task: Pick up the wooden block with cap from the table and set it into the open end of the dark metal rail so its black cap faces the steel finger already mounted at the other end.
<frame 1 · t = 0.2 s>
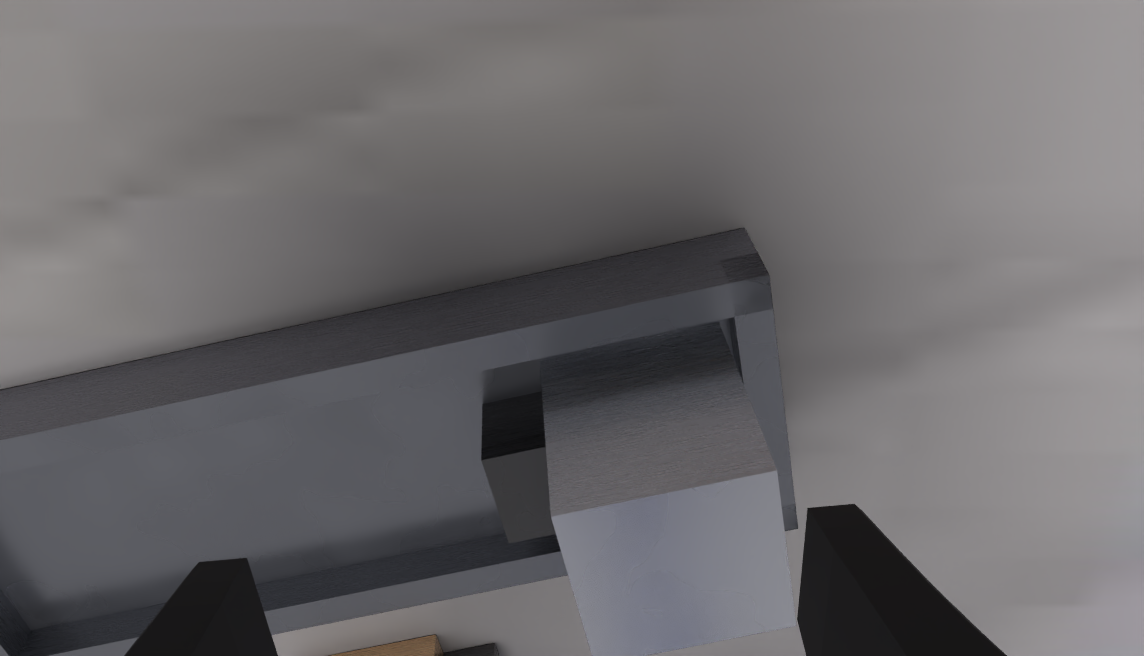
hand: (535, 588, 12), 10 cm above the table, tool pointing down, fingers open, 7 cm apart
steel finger: (644, 413, 22), resting on rail
rail: (355, 443, 23), on the table
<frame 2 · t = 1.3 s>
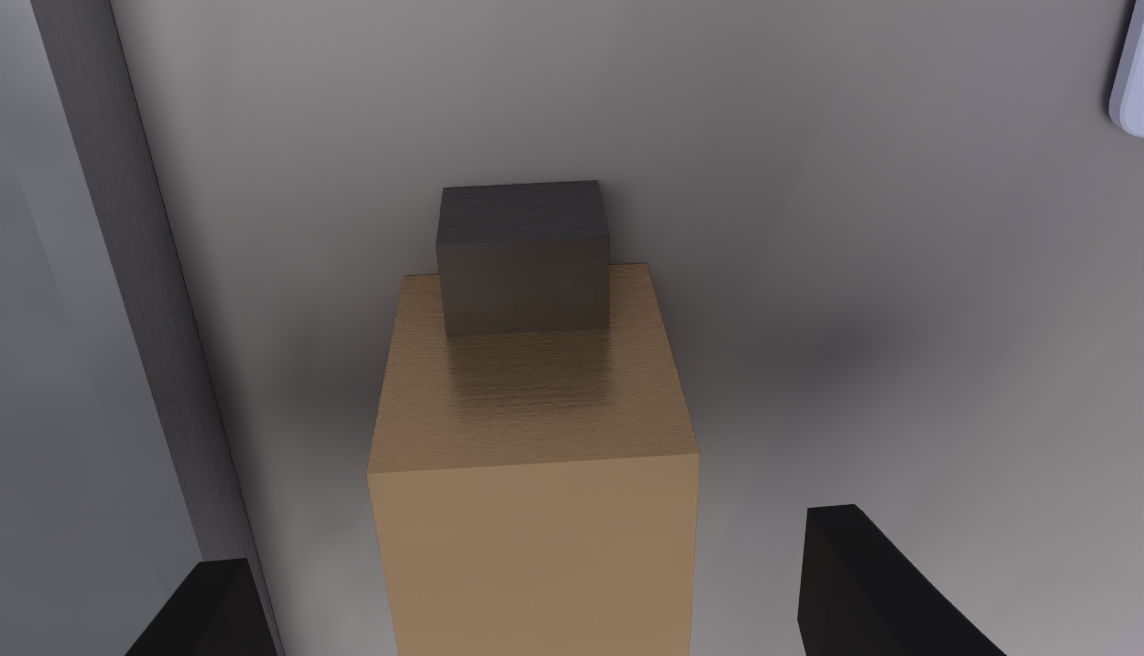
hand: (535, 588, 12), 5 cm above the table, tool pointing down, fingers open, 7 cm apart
wooden block with cap: (531, 370, 17), on the table
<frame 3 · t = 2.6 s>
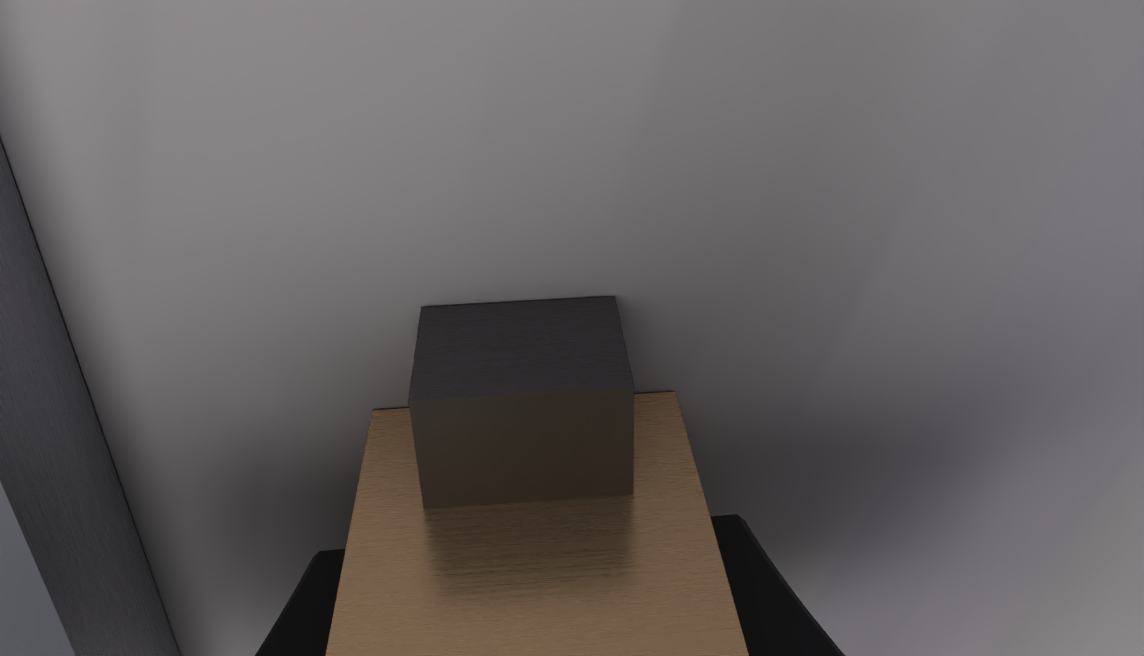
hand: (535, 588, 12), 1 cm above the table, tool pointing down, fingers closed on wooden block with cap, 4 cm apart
wooden block with cap: (532, 515, 14), on the table, touching gripper
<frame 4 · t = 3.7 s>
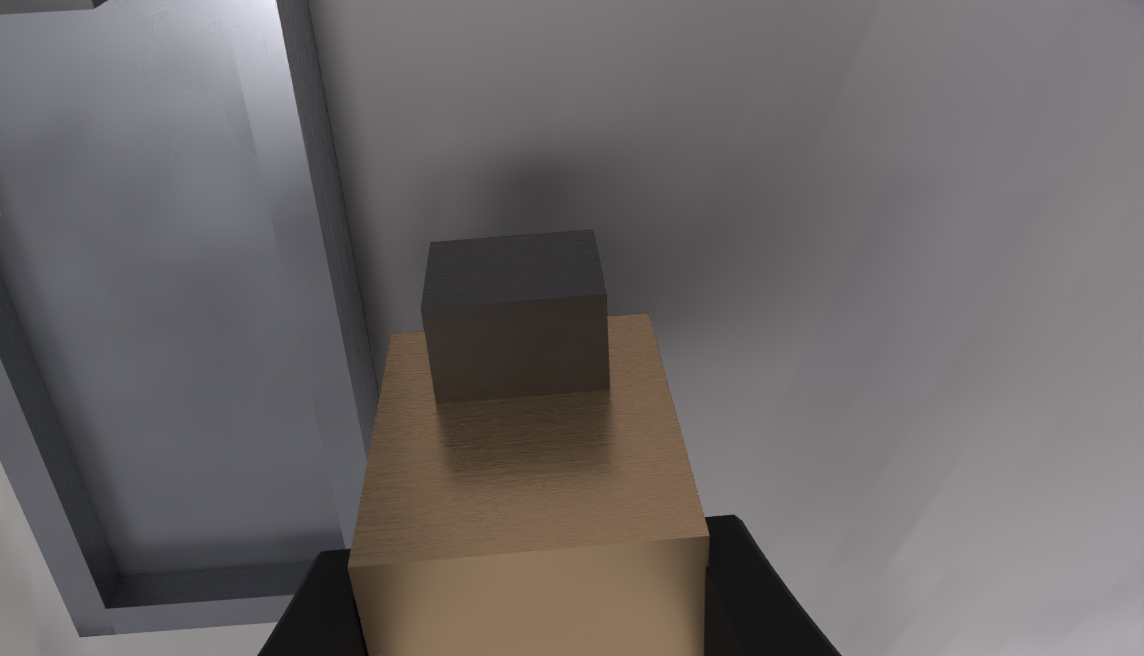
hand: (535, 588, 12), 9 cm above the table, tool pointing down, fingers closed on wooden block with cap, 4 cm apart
wooden block with cap: (530, 427, 16), point 5 cm above the table, touching gripper
rail: (148, 164, 18), on the table
when the fingers open (9 cm above the table, at t = 3.9 s): wooden block with cap drops 2 cm, resting on rail.
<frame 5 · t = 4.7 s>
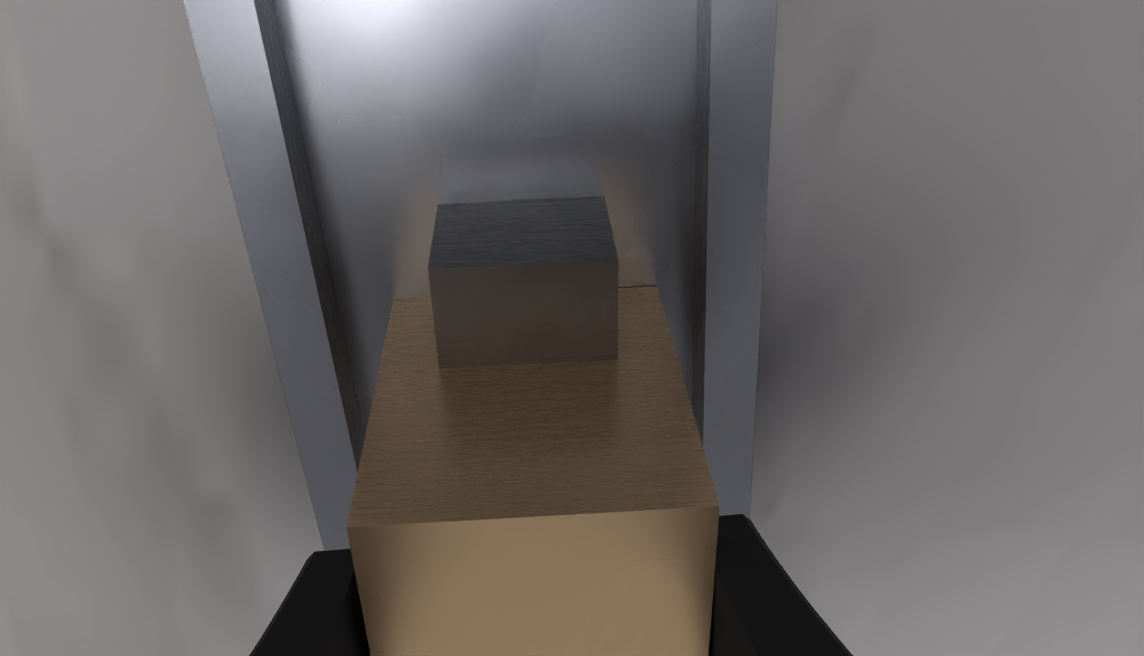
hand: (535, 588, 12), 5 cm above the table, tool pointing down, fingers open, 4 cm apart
wooden block with cap: (531, 400, 16), point 1 cm above the table, touching gripper, rail
rail: (493, 24, 14), on the table
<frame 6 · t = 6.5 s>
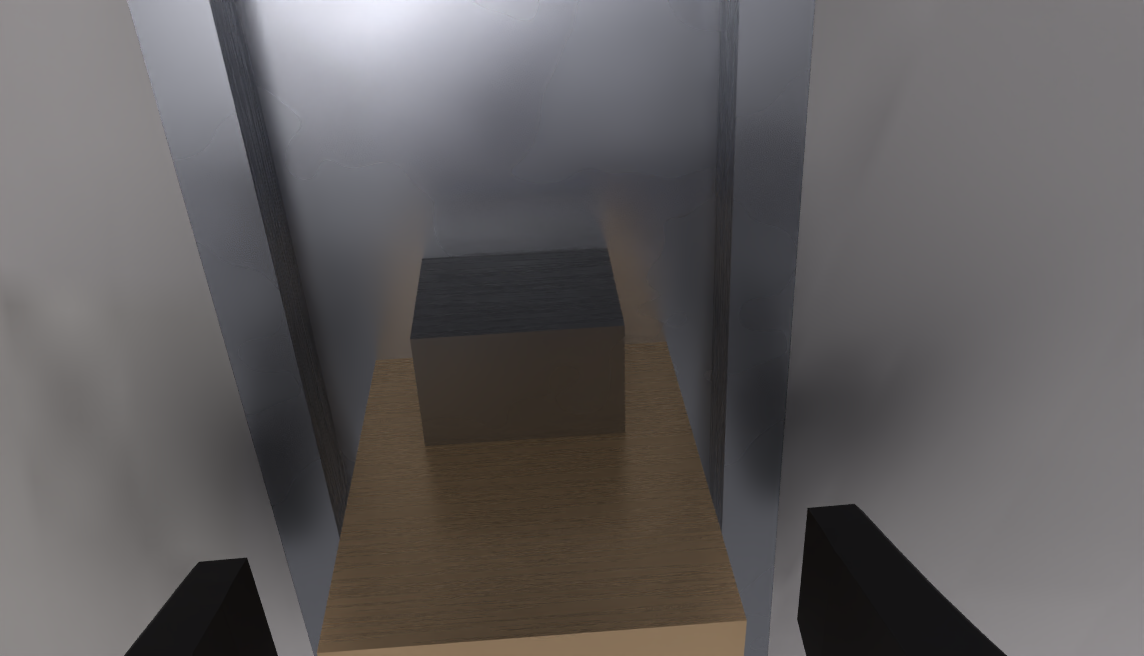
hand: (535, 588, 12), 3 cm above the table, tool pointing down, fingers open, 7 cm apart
wooden block with cap: (530, 464, 14), point 1 cm above the table, touching rail
rail: (491, 56, 12), on the table
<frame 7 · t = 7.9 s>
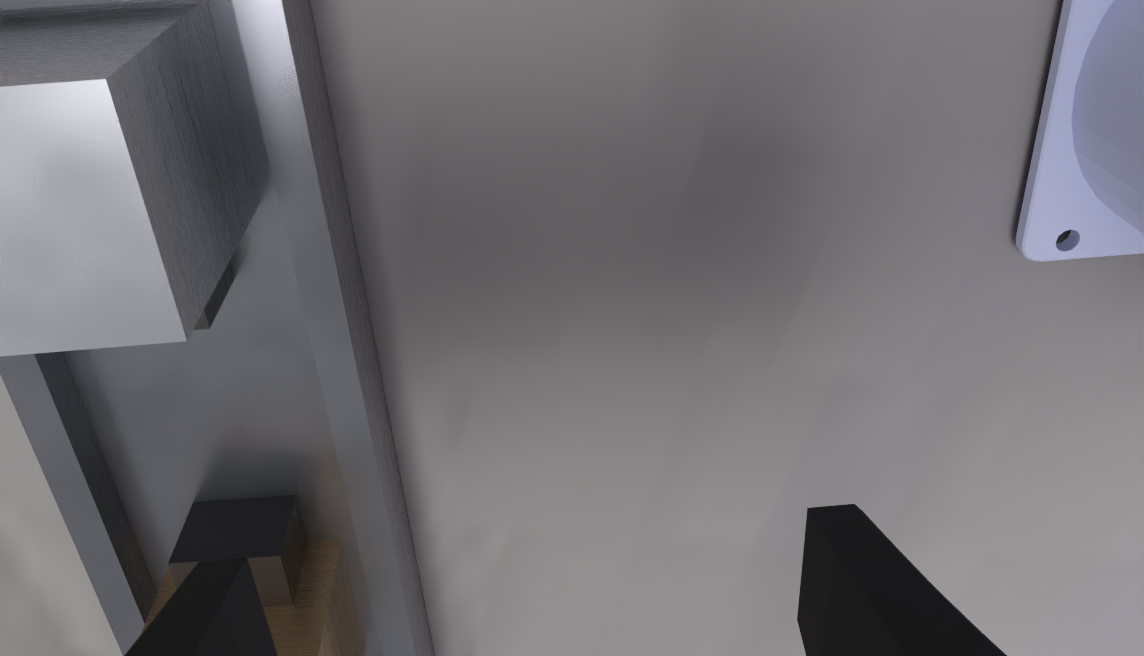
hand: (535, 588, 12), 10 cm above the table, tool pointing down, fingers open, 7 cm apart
wooden block with cap: (273, 604, 24), point 1 cm above the table, touching rail
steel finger: (124, 116, 18), resting on rail
rail: (230, 391, 22), on the table
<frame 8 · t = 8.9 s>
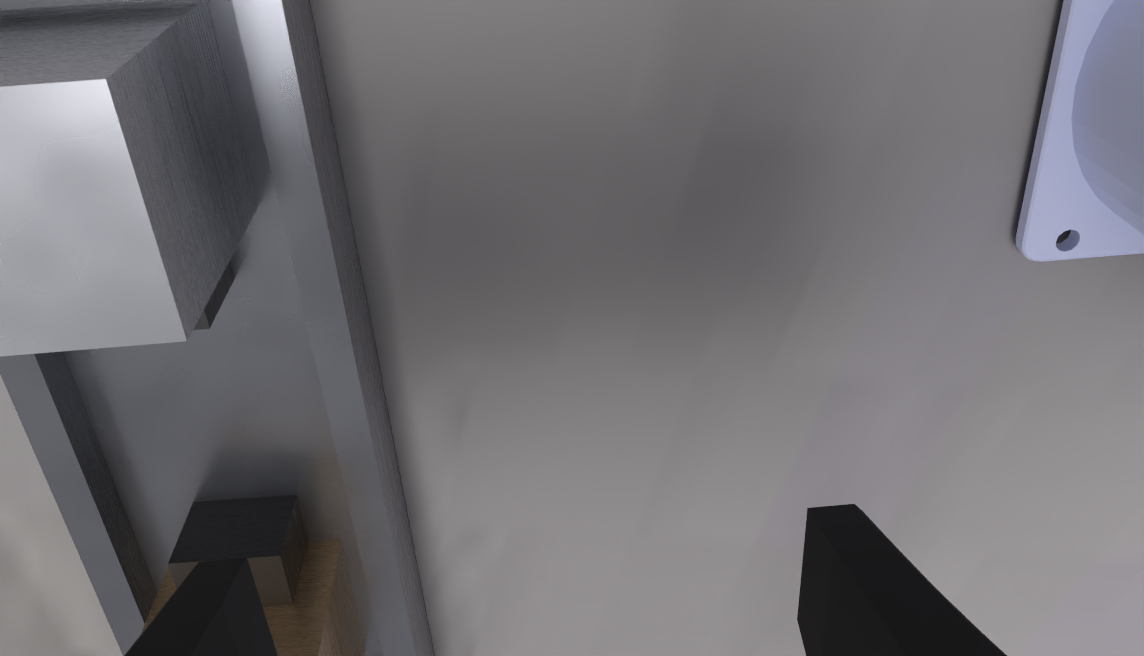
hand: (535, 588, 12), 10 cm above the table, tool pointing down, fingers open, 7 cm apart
wooden block with cap: (273, 604, 24), point 1 cm above the table, touching rail
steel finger: (124, 116, 18), resting on rail
rail: (230, 391, 22), on the table
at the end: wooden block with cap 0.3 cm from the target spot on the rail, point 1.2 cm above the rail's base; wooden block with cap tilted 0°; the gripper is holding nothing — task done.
